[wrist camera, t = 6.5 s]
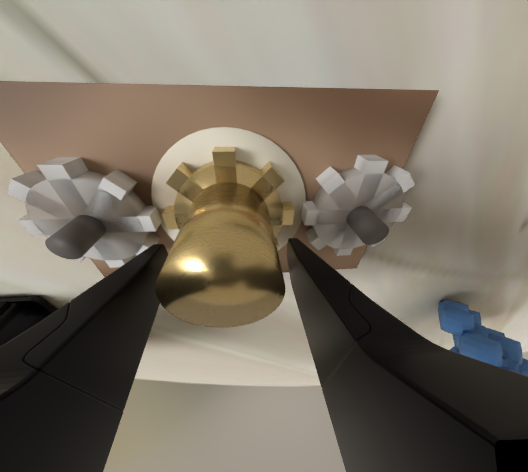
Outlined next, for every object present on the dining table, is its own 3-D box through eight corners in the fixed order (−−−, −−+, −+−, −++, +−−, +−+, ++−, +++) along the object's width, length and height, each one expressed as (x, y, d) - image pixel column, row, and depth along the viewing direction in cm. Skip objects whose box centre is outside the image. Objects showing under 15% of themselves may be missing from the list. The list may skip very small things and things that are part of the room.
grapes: (388, 308, 24) (484, 451, 14) (440, 277, 21) (609, 434, 11) (432, 325, 28) (527, 443, 19) (481, 302, 25) (625, 429, 16)
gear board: (356, 255, 17) (385, 298, 14) (110, 268, 16) (70, 321, 12) (427, 91, 10) (530, 90, 6) (-24, 81, 8) (-227, 73, 5)
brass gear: (285, 251, 14) (307, 335, 9) (185, 256, 13) (152, 348, 8) (297, 146, 9) (352, 201, 5) (148, 146, 9) (38, 210, 4)
